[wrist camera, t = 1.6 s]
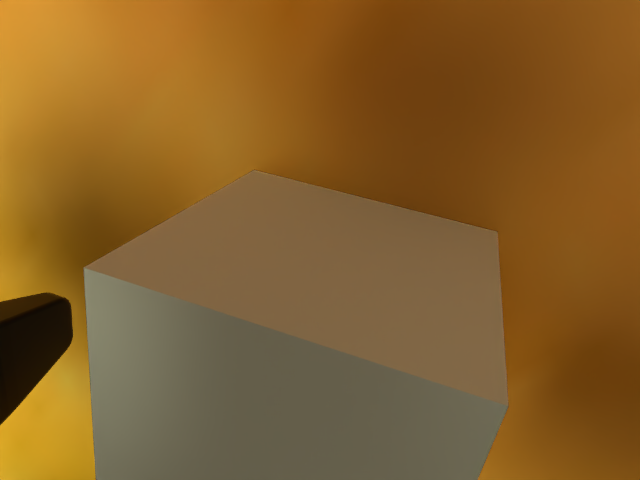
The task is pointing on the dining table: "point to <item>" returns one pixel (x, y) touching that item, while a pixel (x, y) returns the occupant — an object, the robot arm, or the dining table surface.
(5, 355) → the robot arm
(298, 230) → the cube
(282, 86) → the dining table surface
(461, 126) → the dining table surface
